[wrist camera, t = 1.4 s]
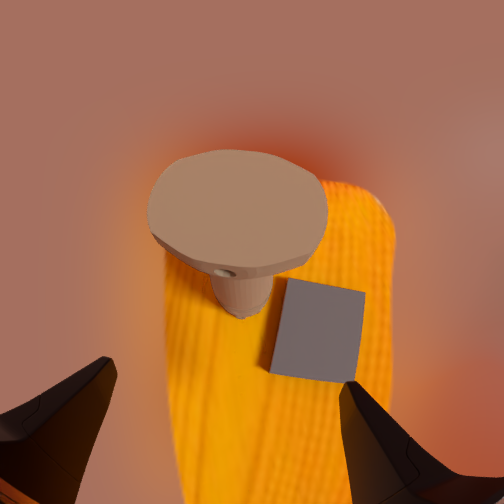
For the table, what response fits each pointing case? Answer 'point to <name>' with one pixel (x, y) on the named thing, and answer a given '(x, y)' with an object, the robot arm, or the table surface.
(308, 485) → the table surface
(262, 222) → the handle
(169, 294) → the table surface
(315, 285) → the plate
